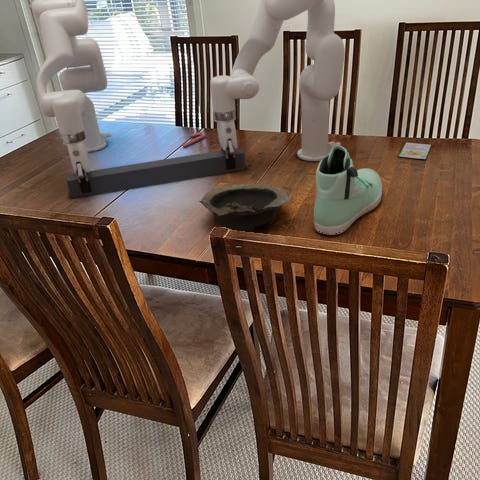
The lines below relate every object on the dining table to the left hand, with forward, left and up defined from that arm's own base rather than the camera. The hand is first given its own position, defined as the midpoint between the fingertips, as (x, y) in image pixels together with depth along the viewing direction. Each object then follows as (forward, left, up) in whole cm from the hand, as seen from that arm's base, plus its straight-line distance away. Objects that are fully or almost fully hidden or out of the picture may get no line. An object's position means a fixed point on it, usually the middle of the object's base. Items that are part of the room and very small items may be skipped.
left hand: (86, 188), depth 161 cm
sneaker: (-36, +78, -2) cm, 86 cm away
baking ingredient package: (-86, +77, -2) cm, 116 cm away
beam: (-20, +14, -2) cm, 25 cm away
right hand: (-40, +29, 0) cm, 49 cm away
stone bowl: (-14, +57, -2) cm, 59 cm away
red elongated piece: (-53, -3, -2) cm, 53 cm away
